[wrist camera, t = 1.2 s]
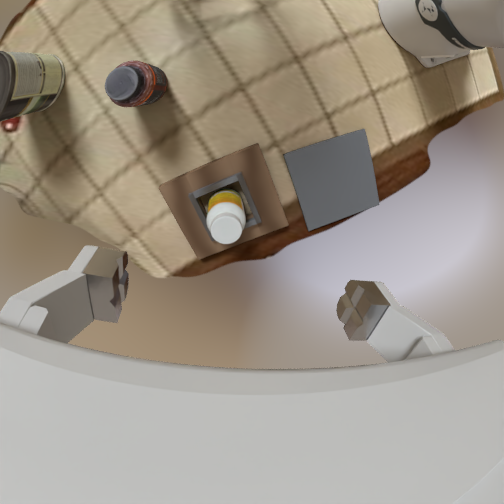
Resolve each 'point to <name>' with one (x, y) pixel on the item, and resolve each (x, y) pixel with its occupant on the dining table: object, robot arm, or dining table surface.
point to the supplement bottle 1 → (135, 84)
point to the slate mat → (333, 178)
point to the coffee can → (28, 82)
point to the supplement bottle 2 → (226, 215)
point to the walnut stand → (214, 177)
